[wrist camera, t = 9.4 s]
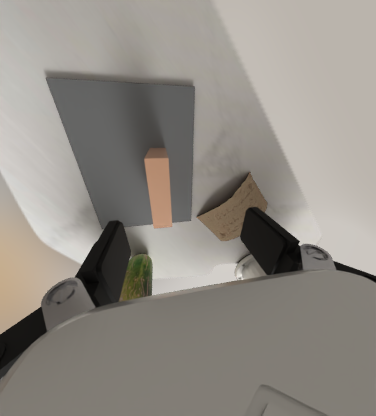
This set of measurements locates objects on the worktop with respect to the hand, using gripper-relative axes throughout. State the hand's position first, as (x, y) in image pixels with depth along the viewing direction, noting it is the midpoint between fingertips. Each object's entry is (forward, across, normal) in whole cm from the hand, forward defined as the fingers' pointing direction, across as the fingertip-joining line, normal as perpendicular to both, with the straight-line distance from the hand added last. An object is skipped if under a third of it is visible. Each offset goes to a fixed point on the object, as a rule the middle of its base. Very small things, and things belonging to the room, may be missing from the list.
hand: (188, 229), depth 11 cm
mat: (+14, +5, -1) cm, 15 cm away
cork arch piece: (+15, -12, +8) cm, 21 cm away
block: (+13, +2, 0) cm, 14 cm away
